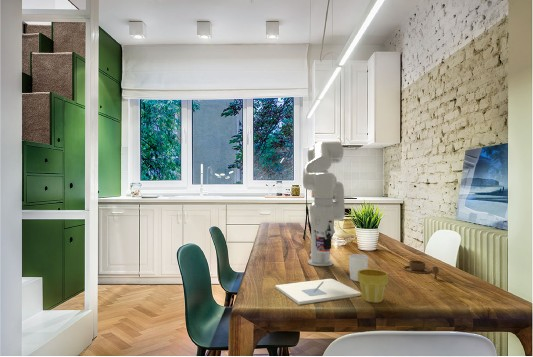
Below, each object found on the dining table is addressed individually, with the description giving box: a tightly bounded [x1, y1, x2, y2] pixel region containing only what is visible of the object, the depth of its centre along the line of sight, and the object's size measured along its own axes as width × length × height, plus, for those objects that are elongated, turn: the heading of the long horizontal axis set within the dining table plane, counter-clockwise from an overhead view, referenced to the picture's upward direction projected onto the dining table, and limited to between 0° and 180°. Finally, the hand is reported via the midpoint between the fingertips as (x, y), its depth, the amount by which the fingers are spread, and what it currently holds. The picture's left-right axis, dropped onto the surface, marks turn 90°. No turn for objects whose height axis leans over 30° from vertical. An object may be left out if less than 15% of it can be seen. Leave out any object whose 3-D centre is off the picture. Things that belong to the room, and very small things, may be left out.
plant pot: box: [357, 268, 389, 303], centre depth 126 cm, size 10×10×10 cm
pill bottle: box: [316, 230, 331, 253], centre depth 144 cm, size 5×5×10 cm
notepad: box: [274, 278, 362, 306], centre depth 135 cm, size 20×26×1 cm
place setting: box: [398, 259, 439, 280], centre depth 162 cm, size 18×20×6 cm
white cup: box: [348, 253, 369, 282], centre depth 152 cm, size 8×8×10 cm
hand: (323, 247), depth 144 cm, fingers closed on pill bottle, 5 cm apart
